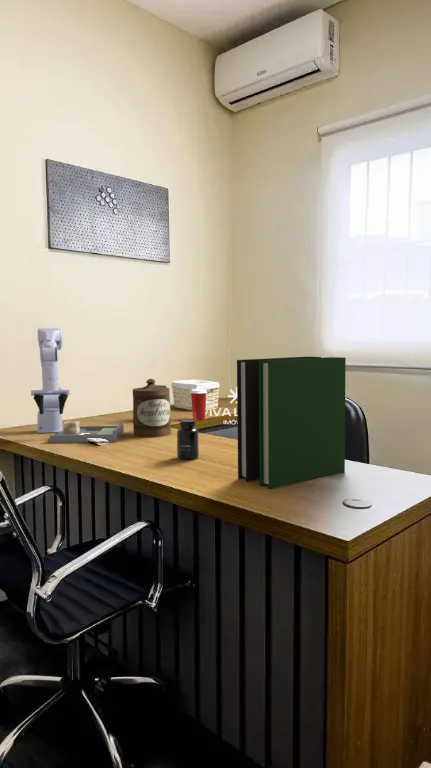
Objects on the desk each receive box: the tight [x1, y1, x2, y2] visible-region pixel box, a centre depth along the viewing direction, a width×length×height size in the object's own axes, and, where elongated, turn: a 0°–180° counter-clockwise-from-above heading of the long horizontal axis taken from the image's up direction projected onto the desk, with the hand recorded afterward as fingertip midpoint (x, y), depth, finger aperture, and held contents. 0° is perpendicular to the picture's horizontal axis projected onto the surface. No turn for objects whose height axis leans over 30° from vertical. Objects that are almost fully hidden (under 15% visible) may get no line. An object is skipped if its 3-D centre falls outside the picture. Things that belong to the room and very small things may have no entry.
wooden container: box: [132, 378, 172, 438], centre depth 211 cm, size 15×15×22 cm
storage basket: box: [171, 379, 220, 411], centre depth 285 cm, size 24×16×15 cm
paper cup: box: [190, 389, 207, 422], centre depth 246 cm, size 8×8×14 cm
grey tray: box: [49, 422, 125, 444], centre depth 206 cm, size 24×20×4 cm
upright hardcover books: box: [236, 356, 347, 490], centre depth 145 cm, size 27×15×32 cm, turn 126°
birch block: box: [62, 420, 81, 434], centre depth 206 cm, size 5×5×4 cm
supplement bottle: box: [176, 419, 200, 461], centre depth 168 cm, size 7×7×12 cm
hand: (51, 413), depth 205 cm, fingers open, 7 cm apart
